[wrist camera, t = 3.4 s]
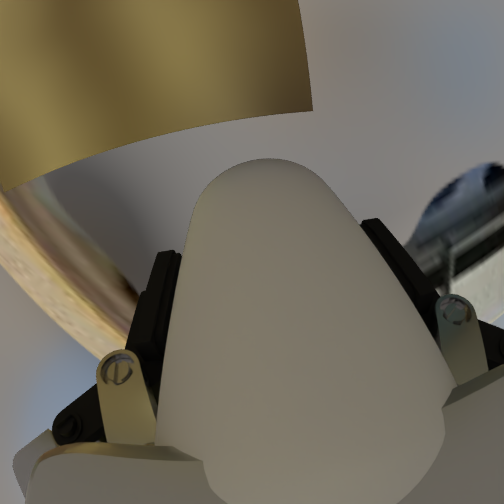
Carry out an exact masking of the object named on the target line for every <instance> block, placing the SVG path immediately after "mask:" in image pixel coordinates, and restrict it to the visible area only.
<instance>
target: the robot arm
mask: <svg viewBox="0 0 504 504" xmlns="http://www.w3.org/2000/svg"><path fill="white" fill-rule="evenodd" d="M360 227H361V228H362V229H363V231H364V232H365V233H366V235H367V236H368V237H369V239H370V240H371V242H372V243H373V244H374V246H375V247H376V248H377V250H378V251H379V253H380V254H381V256H382V257H383V258H384V260H385V261H386V263H387V264H388V266H389V267H390V269H391V270H392V272H393V273H394V275H395V276H396V278H397V279H398V281H399V282H400V284H401V285H402V287H403V289H404V290H405V292H406V293H407V295H408V296H409V298H410V300H411V301H412V303H413V305H414V306H415V308H416V309H417V311H418V313H419V314H420V316H421V318H422V320H423V321H424V323H425V325H426V326H427V328H428V330H429V332H430V333H431V335H432V337H433V339H434V341H435V342H436V344H437V346H438V348H439V350H440V352H441V354H442V356H443V357H444V359H445V361H446V363H447V365H448V367H449V369H450V371H451V373H452V375H453V377H454V380H455V382H456V384H457V387H455V388H453V389H452V391H451V393H450V395H449V397H448V399H447V400H446V402H445V404H444V405H443V407H442V408H441V410H442V413H443V417H444V425H445V437H444V441H443V444H442V446H441V448H440V451H439V453H438V455H437V457H436V459H435V461H434V462H433V464H432V465H431V467H430V468H429V470H428V471H427V473H426V474H425V475H424V477H423V478H422V479H421V481H420V482H419V483H418V484H417V485H416V486H415V487H414V488H413V489H412V490H411V492H410V493H409V494H407V495H406V496H405V497H404V498H403V499H402V500H401V501H399V502H398V503H397V504H504V329H501V328H499V327H496V326H493V325H491V324H488V323H486V322H483V321H481V320H478V319H477V316H476V312H475V310H474V307H473V306H472V304H471V303H470V302H469V301H468V300H466V299H465V298H464V297H461V296H459V295H455V294H446V295H444V296H441V297H440V296H439V294H438V293H437V291H436V290H435V289H434V287H433V286H432V284H431V283H430V282H429V280H428V279H427V278H426V276H425V275H424V274H423V272H422V271H421V270H420V268H419V267H418V266H417V264H416V263H415V262H414V261H413V259H412V258H411V257H410V255H409V254H408V253H407V252H406V250H405V249H404V248H403V247H402V245H401V244H400V243H399V242H398V241H397V239H396V238H395V237H394V236H393V235H392V233H391V232H390V231H389V230H388V229H387V228H386V226H385V225H384V224H383V223H382V222H381V221H380V219H378V218H374V219H368V220H363V221H362V224H360ZM181 260H182V256H181V254H180V253H175V251H174V250H169V251H162V252H158V254H157V256H156V259H155V262H154V265H153V268H152V272H151V275H150V278H149V282H148V285H147V288H146V291H143V292H141V294H140V297H139V300H138V304H137V307H136V310H135V314H134V317H133V321H132V324H131V328H130V331H129V335H128V339H127V343H126V346H125V350H122V349H120V350H116V351H113V352H111V353H109V354H107V355H106V356H105V357H104V358H103V359H102V360H101V362H100V363H99V365H98V367H97V370H96V380H97V383H96V384H95V385H94V386H92V387H91V388H90V389H89V390H87V391H86V392H85V393H84V394H82V395H81V396H80V397H79V398H77V399H76V400H75V401H73V402H72V403H71V404H70V405H68V406H67V407H66V408H65V409H63V410H62V411H61V412H60V413H59V414H58V415H57V416H56V418H55V420H54V422H53V426H52V431H51V430H49V429H47V430H46V431H44V432H43V433H42V434H41V435H39V436H38V437H37V438H35V439H34V440H33V441H31V442H30V443H29V444H27V445H26V446H25V447H24V448H22V449H21V450H20V451H18V452H17V454H16V455H15V457H14V459H13V470H14V473H15V476H16V478H17V481H18V483H19V486H20V488H21V490H22V492H23V495H24V497H25V504H227V503H226V502H225V501H223V500H222V499H221V498H220V497H218V496H217V495H216V494H215V493H214V492H213V490H212V489H211V488H210V486H209V483H208V480H207V477H206V474H205V471H204V465H203V461H201V460H199V459H197V458H195V457H192V456H190V455H188V454H186V453H184V452H182V451H180V450H178V449H177V448H175V447H173V446H155V434H156V422H157V412H158V402H159V393H160V385H161V377H162V369H163V362H164V355H165V348H166V342H167V335H168V329H169V323H170V317H171V311H172V306H173V300H174V295H175V290H176V284H177V279H178V274H179V269H180V265H181Z"/></svg>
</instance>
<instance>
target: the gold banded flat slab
mask: <svg viewBox="0 0 504 504" xmlns="http://www.w3.org/2000/svg"><path fill="white" fill-rule="evenodd" d="M307 111H313V107H312V97H311V87H310V78H309V70H308V62H307V54H306V47H305V40H304V33H303V27H302V21H301V15H300V9H299V4H298V0H0V181H1V184H2V187H3V190H4V192H7V191H9V190H11V189H13V188H15V187H17V186H19V185H21V184H23V183H25V182H28V181H30V180H32V179H34V178H36V177H39V176H41V175H43V174H46V173H48V172H50V171H53V170H55V169H58V168H60V167H63V166H65V165H68V164H71V163H73V162H76V161H79V160H81V159H84V158H87V157H90V156H93V155H95V154H98V153H102V152H105V151H108V150H111V149H114V148H117V147H120V146H124V145H127V144H130V143H134V142H137V141H141V140H145V139H148V138H152V137H156V136H160V135H164V134H168V133H172V132H176V131H181V130H185V129H190V128H194V127H199V126H204V125H209V124H214V123H219V122H225V121H231V120H238V119H245V118H251V117H259V116H267V115H274V114H283V113H295V112H307Z"/></svg>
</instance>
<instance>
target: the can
mask: <svg viewBox="0 0 504 504" xmlns="http://www.w3.org/2000/svg"><path fill="white" fill-rule="evenodd" d="M455 387H457V384H456V382H455V380H454V377H453V375H452V373H451V371H450V369H449V367H448V365H447V363H446V361H445V359H444V357H443V356H442V354H441V352H440V350H439V348H438V346H437V344H436V342H435V341H434V339H433V337H432V335H431V333H430V332H429V330H428V328H427V326H426V325H425V323H424V321H423V320H422V318H421V316H420V314H419V313H418V311H417V309H416V308H415V306H414V305H413V303H412V301H411V300H410V298H409V296H408V295H407V293H406V292H405V290H404V289H403V287H402V285H401V284H400V282H399V281H398V279H397V278H396V276H395V275H394V273H393V272H392V270H391V269H390V267H389V266H388V264H387V263H386V261H385V260H384V258H383V257H382V256H381V254H380V253H379V251H378V250H377V248H376V247H375V246H374V244H373V243H372V242H371V240H370V239H369V237H368V236H367V235H366V233H365V232H364V231H363V229H362V228H361V227H360V225H359V224H358V223H357V221H356V220H355V219H354V217H353V216H352V215H351V214H350V212H349V211H348V210H347V208H346V207H345V206H344V205H343V203H342V202H341V201H340V200H339V198H338V197H337V196H336V195H335V194H334V192H333V191H332V190H331V189H330V188H329V187H328V185H327V184H326V183H325V182H324V181H323V180H322V179H321V178H320V177H319V176H317V175H316V174H315V173H314V172H312V171H311V170H309V169H307V168H306V167H304V166H302V165H299V164H296V163H294V162H291V161H287V160H281V159H257V160H252V161H247V162H244V163H241V164H238V165H236V166H234V167H232V168H230V169H228V170H226V171H224V172H223V173H221V174H220V175H219V176H217V177H216V178H215V179H214V180H213V181H212V182H211V183H210V184H209V185H208V186H207V187H206V188H205V190H204V191H203V192H202V194H201V195H200V197H199V199H198V201H197V203H196V206H195V208H194V211H193V214H192V217H191V221H190V225H189V229H188V233H187V238H186V242H185V246H184V251H183V255H182V260H181V265H180V269H179V274H178V279H177V284H176V290H175V295H174V300H173V306H172V311H171V317H170V323H169V329H168V335H167V342H166V348H165V355H164V362H163V369H162V377H161V385H160V393H159V402H158V412H157V422H156V434H155V446H173V447H175V448H177V449H178V450H180V451H182V452H184V453H186V454H188V455H190V456H192V457H195V458H197V459H199V460H201V461H203V465H204V471H205V474H206V477H207V480H208V483H209V486H210V488H211V489H212V490H213V492H214V493H215V494H216V495H217V496H218V497H220V498H221V499H222V500H223V501H225V502H226V503H227V504H397V503H398V502H399V501H401V500H402V499H403V498H404V497H405V496H406V495H407V494H409V493H410V492H411V490H412V489H413V488H414V487H415V486H416V485H417V484H418V483H419V482H420V481H421V479H422V478H423V477H424V475H425V474H426V473H427V471H428V470H429V468H430V467H431V465H432V464H433V462H434V461H435V459H436V457H437V455H438V453H439V451H440V448H441V446H442V444H443V441H444V437H445V425H444V417H443V413H442V410H441V408H442V407H443V405H444V404H445V402H446V400H447V399H448V397H449V395H450V393H451V391H452V389H453V388H455Z"/></svg>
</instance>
